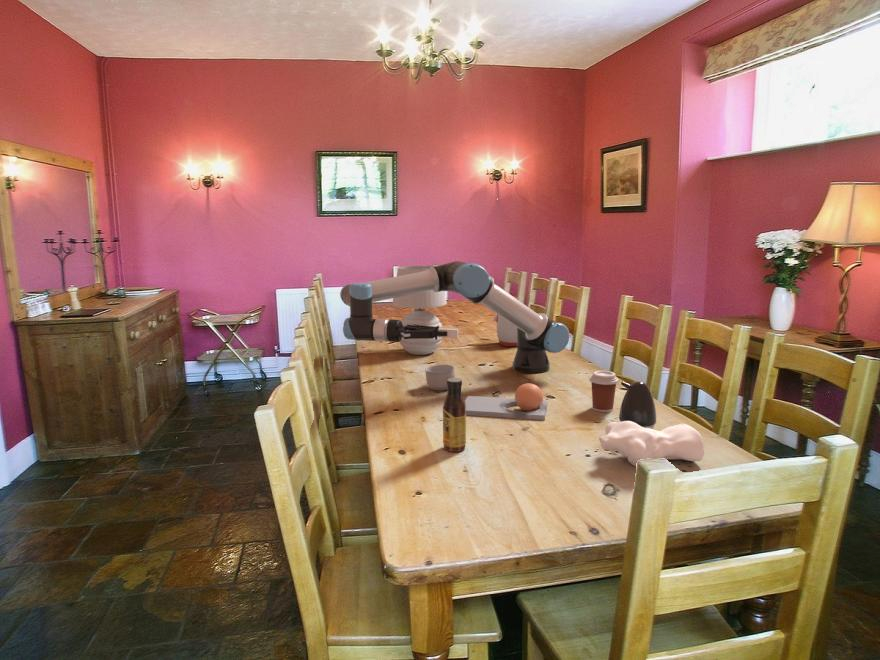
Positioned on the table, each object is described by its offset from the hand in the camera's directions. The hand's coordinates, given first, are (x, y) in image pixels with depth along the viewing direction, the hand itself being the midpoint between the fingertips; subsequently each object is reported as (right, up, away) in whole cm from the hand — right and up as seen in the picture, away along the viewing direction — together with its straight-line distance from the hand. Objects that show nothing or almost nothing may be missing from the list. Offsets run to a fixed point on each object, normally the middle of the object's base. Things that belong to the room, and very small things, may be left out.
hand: (457, 333), depth 186 cm
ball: (+23, -21, -1) cm, 31 cm away
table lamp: (-15, -10, +83) cm, 84 cm away
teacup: (-5, -20, +27) cm, 34 cm away
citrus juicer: (+29, -6, +96) cm, 101 cm away
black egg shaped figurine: (+51, -29, -20) cm, 62 cm away
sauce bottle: (-2, -32, -30) cm, 44 cm away
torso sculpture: (+47, -33, -40) cm, 70 cm away
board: (+15, -25, +1) cm, 29 cm away
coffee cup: (+47, -25, 0) cm, 54 cm away
